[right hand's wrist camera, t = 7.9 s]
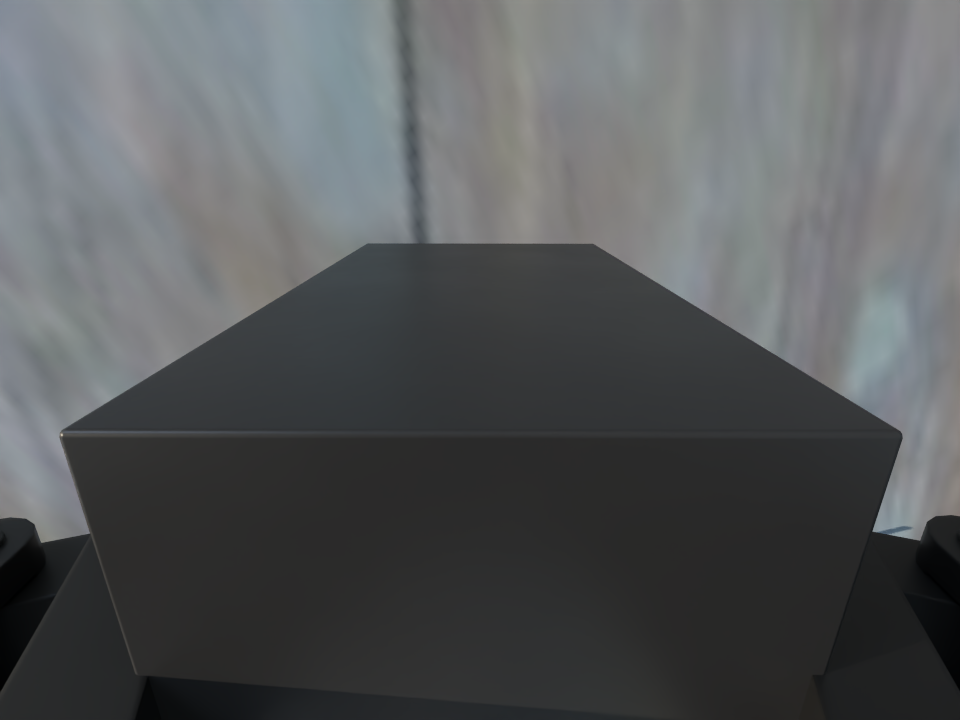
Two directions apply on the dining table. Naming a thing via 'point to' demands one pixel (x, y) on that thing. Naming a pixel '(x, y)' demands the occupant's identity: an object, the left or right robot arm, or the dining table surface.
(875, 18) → the dining table surface
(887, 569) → the right robot arm
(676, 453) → the box
